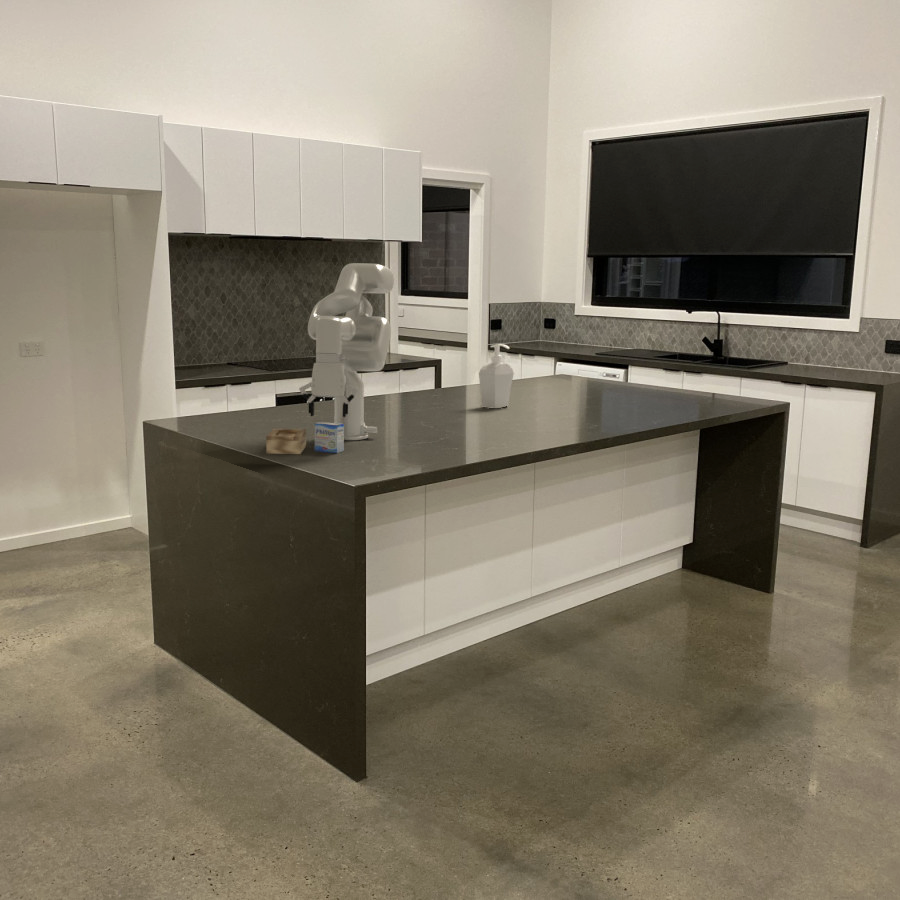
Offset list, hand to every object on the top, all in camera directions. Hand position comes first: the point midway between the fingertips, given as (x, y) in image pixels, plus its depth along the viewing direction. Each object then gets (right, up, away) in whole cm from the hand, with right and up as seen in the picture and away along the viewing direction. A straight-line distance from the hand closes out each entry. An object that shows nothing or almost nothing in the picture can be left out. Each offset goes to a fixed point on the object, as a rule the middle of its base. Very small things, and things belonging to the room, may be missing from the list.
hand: (328, 416), depth 273 cm
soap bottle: (+56, +7, +98) cm, 113 cm away
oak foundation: (-13, -10, +4) cm, 17 cm away
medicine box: (0, -11, +3) cm, 11 cm away
